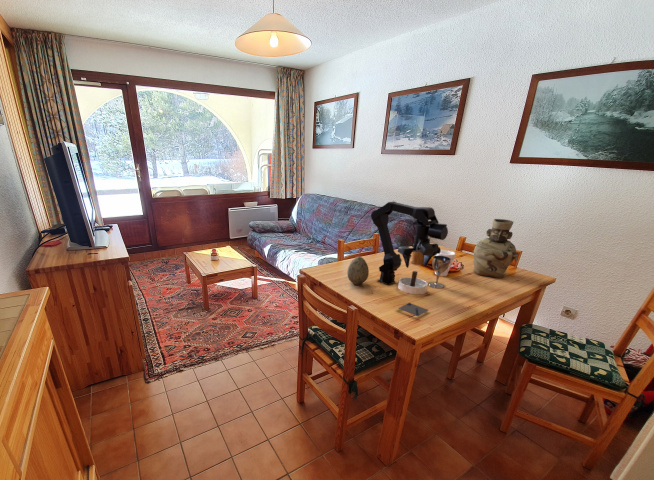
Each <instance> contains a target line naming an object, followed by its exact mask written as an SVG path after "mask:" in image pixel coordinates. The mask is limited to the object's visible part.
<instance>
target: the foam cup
mask: <svg viewBox="0 0 654 480" xmlns="http://www.w3.org/2000/svg"><path fill="white" fill-rule="evenodd" d="M435 256H446V257H449V258H450V259H451V260H450V264H449V267H448V269H447V270H446V271H444V272H443V273H442V274H441V275H440V276H439V277H447V276H448V274H449V271H450V270H451V266H452V264H453V262H454V259H455V256H456V252H455V251H452V250H448V249H447V250H446V249H441V251H440V254H437V255H435ZM434 274H435V275H436V276H437V274H436V272H435V271H434Z"/></svg>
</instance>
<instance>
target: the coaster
mask: <svg viewBox="0 0 654 480" xmlns="http://www.w3.org/2000/svg"><path fill="white" fill-rule="evenodd" d="M398 310H401V311H403V312H406V313H408V314H411V315H413V316H415V317H420V316H421V315H423V314H424V313H426V312H428V311H429V309H427V308H424V307H422V306H419V305H416V304H414V303H411V302H408V303H406V304H403V305H402V306H401V307H398Z"/></svg>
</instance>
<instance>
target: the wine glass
mask: <svg viewBox="0 0 654 480" xmlns="http://www.w3.org/2000/svg"><path fill="white" fill-rule="evenodd" d="M450 260H451V259H450V258H449V257H446V256H436V255H435V256H433V257H432V261H431V267H432V269H433V271H434V273H435V272H436V274H437V275H436V274H435V275H436V280H435V282H429V283H428V287H431V288H435V289H442V288H444V287H445V286H444V285H443V284H442V283H439V278H440V277H441V276H440V275H441V274H442V273H443V272H444V271H446V270H447V269H448V267H449V264H450Z"/></svg>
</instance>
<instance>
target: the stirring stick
mask: <svg viewBox="0 0 654 480" xmlns="http://www.w3.org/2000/svg"><path fill="white" fill-rule="evenodd" d="M411 277H412V278H411V283H410V286H412V287H415V283H416V278H418V271H417V270H412V272H411Z"/></svg>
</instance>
